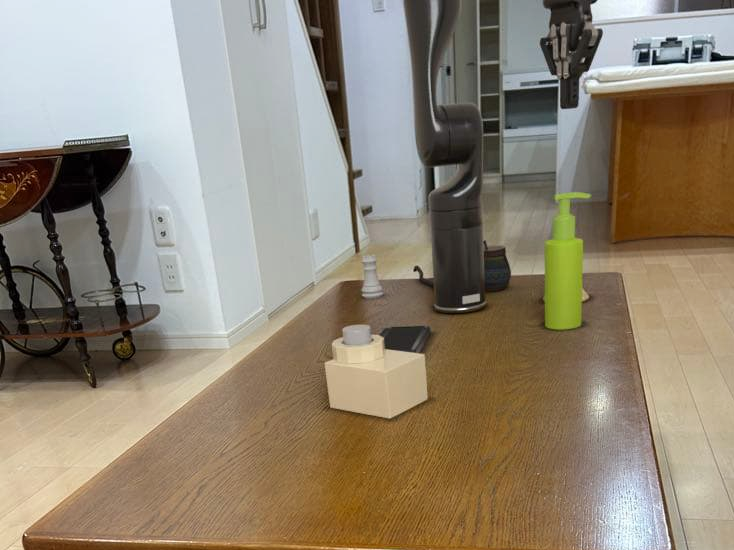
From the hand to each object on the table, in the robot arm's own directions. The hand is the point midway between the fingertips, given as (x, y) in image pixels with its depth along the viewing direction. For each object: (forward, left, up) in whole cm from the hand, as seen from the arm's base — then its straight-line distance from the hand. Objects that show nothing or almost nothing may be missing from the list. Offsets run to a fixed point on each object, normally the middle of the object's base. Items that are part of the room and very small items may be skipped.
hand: (569, 108), depth 120 cm
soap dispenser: (0, 0, -32) cm, 32 cm away
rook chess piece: (-45, -17, -32) cm, 58 cm away
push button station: (+18, -40, -31) cm, 54 cm away
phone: (-6, -27, -32) cm, 42 cm away
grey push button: (+16, -41, -24) cm, 50 cm away
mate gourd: (-33, +4, -32) cm, 46 cm away
